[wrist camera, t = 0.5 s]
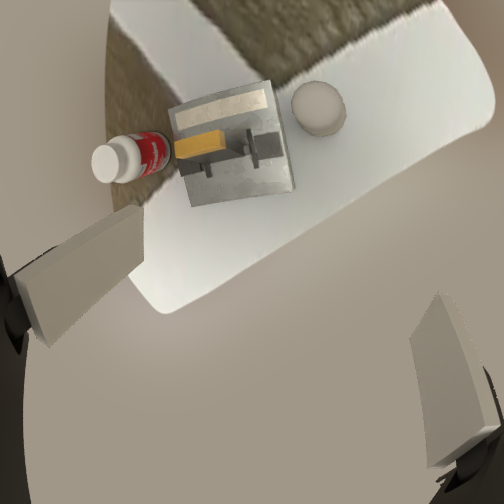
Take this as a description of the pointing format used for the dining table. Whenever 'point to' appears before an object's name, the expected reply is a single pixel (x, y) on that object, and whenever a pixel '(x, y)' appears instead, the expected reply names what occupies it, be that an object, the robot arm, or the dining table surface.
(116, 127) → the dining table surface
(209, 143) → the paddle
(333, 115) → the salt shaker
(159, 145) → the pill bottle
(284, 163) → the panel
